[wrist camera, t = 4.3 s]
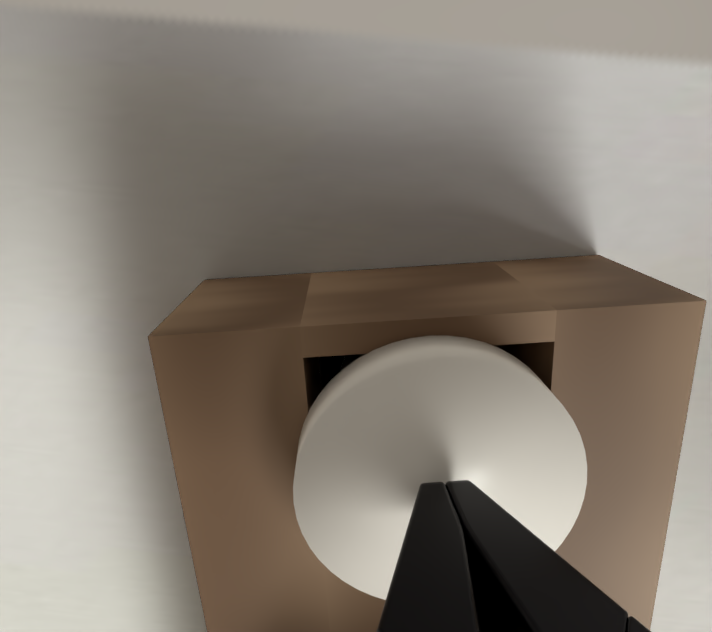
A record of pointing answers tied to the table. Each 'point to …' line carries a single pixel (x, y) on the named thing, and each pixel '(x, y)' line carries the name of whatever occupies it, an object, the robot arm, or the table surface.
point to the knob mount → (395, 323)
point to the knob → (430, 450)
